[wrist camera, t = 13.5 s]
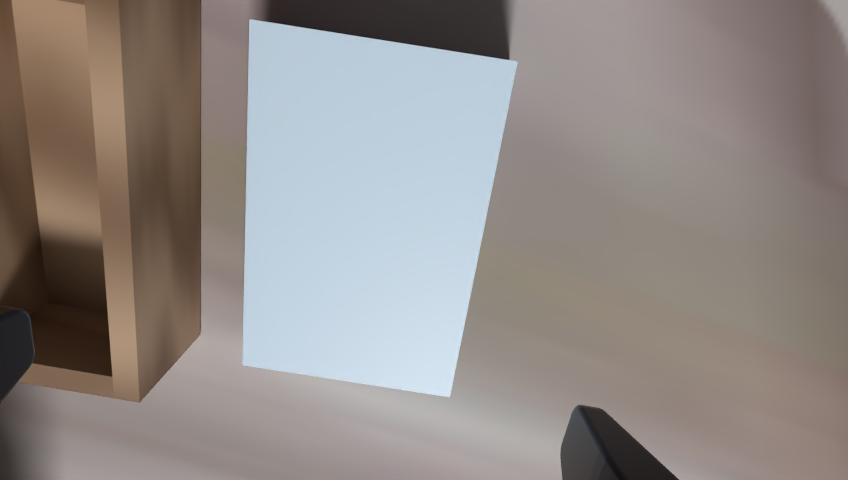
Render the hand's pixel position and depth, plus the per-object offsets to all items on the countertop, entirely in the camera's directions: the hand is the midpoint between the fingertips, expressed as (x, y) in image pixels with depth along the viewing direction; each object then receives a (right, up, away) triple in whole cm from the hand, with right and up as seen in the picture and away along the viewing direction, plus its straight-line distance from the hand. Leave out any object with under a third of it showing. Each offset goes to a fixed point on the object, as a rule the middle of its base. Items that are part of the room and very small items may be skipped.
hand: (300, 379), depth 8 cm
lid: (0, +3, +9) cm, 10 cm away
